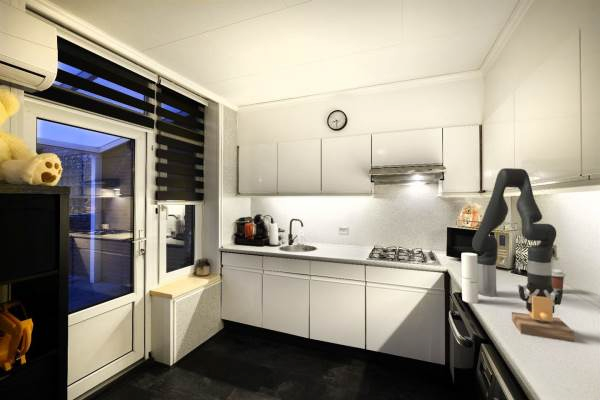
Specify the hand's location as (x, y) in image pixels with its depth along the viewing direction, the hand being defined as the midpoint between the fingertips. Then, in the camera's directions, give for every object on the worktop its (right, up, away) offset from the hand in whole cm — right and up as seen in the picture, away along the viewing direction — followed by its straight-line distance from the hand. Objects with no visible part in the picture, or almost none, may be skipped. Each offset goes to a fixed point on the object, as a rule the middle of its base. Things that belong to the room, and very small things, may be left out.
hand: (540, 312), depth 109 cm
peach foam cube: (-1, -2, -1) cm, 3 cm away
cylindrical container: (-8, -8, +32) cm, 34 cm away
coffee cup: (+48, -6, +43) cm, 64 cm away
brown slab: (0, -8, 0) cm, 8 cm away
